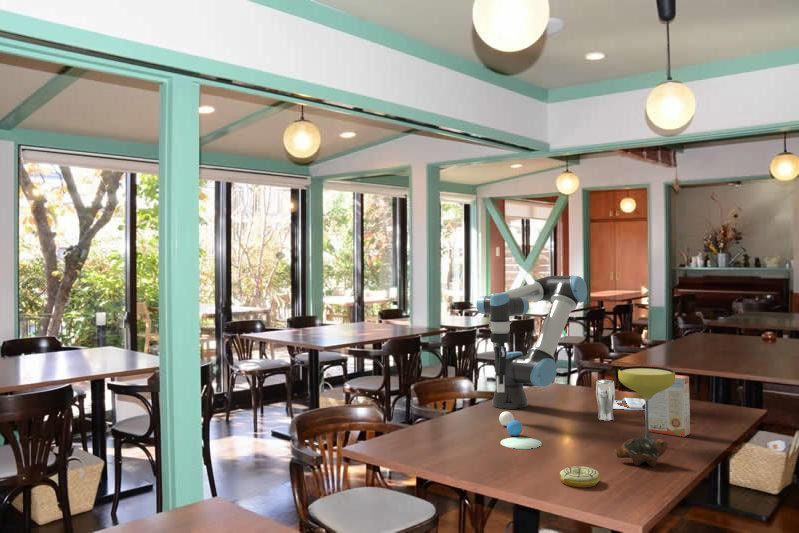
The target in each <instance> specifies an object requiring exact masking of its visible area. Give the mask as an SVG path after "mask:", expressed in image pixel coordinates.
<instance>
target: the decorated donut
mask: <svg viewBox="0 0 799 533" xmlns="http://www.w3.org/2000/svg"><path fill="white" fill-rule="evenodd" d="M559 478H560V482H561V483H562V484H564V485H566V486H569V487H574V488H581V489H582V488H583V489H585V488H592V486H593V487H595V486H596V485H597V484H598V483H599V481H600V473H599V471H598V470H596V469H594V468H592V467H589V466H577V465H575V466H570V467H568V466H567V467H566V468H563V469H562V470H561V471H560V472H559Z"/></svg>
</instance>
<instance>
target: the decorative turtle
mask: <svg viewBox="0 0 799 533" xmlns="http://www.w3.org/2000/svg"><path fill="white" fill-rule="evenodd" d="M653 440H654V442H653V443H652V442H651V441H649V440H648V439H645V437H634V438H630V439H628V440H626V441H624V442H623V443H622V445H621V446H620V447H617V448H615V450H614V451H615V455H616V457H617V458H618V459H619V458H620V459H625V458H626V459H627V458H629V459H631V460H632V461H633V464H634V465H635V466H636V465H637V466H636V467H639V466H640V465H642V464H643V463H645V462H646V464H647V465H649V467H651V466H652V467H651V468H654V467H655V466H656V465H657V461H658V458H660V457H661V456H662V455H664V453H665V452H666V451H667V449H668V443H667V441H666V440H664V439H663V438H656V439H653Z"/></svg>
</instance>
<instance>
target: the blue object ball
mask: <svg viewBox="0 0 799 533" xmlns="http://www.w3.org/2000/svg"><path fill="white" fill-rule="evenodd" d="M506 430H507V433H508V434H509V435H510V436H513V437H516V436H517V437H518V436H520V434H522V432H523V425H522V423H521V422H520V421H519V420H515V419H514V420H512V421H510V422H509V423H508V424H507V426H506Z"/></svg>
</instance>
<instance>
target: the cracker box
mask: <svg viewBox="0 0 799 533" xmlns="http://www.w3.org/2000/svg"><path fill="white" fill-rule="evenodd" d="M690 409H691V408H690V376H689V375H682V374H681V375H679V374H675V383H674V384H673V385H672V386H671V387H669V388H667V389H665V390H663V391H661V392H658V393H656V394H655V395H653V396H652V398H651V399H650V400H648V429H649V432H650V433H656V434H657V433H658V434H665V435H669V436H675V437H681V436H682V438H685V437H687V436H688V435H691V411H690ZM644 415H645V422H646V400H645V411H644Z"/></svg>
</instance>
